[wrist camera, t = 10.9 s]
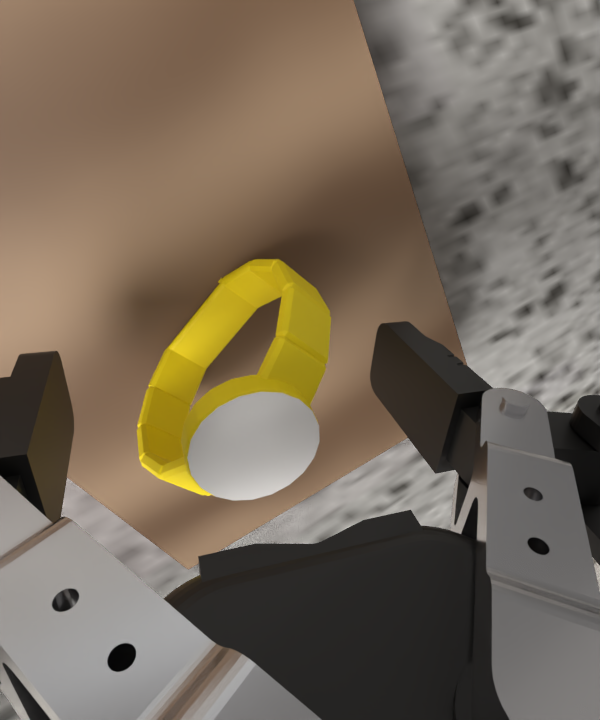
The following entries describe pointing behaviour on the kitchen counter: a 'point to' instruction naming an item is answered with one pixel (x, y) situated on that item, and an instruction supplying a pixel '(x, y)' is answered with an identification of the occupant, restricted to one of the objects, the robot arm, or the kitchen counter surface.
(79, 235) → the block
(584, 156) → the kitchen counter surface
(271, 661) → the robot arm
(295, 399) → the watch
